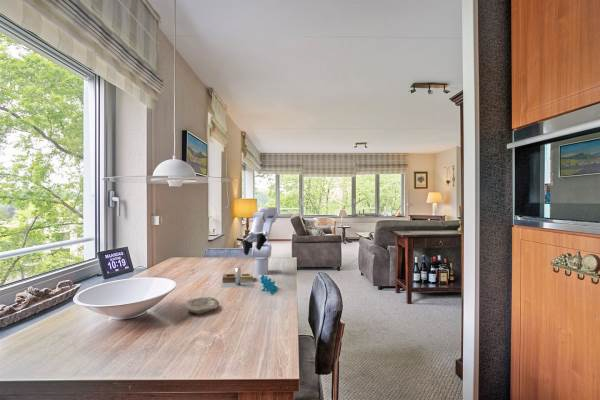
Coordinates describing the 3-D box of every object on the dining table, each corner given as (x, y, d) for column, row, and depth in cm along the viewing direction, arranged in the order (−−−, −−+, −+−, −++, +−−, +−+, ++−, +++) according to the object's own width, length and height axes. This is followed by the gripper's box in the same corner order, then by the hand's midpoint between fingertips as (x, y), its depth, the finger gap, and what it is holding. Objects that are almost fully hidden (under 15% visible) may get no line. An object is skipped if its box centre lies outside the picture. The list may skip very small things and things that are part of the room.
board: (223, 279, 153) (223, 278, 153) (253, 278, 156) (253, 277, 156) (221, 289, 137) (221, 287, 137) (254, 287, 140) (254, 286, 140)
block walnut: (223, 278, 152) (223, 274, 152) (237, 278, 153) (237, 273, 153) (222, 282, 145) (222, 277, 145) (237, 282, 146) (237, 277, 146)
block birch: (238, 278, 153) (238, 273, 153) (252, 277, 154) (252, 273, 154) (238, 282, 146) (238, 277, 146) (252, 281, 147) (252, 276, 147)
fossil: (223, 313, 111) (224, 305, 111) (189, 319, 104) (190, 311, 104) (213, 302, 120) (214, 295, 120) (181, 307, 113) (182, 299, 113)
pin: (235, 284, 143) (235, 267, 143) (240, 284, 143) (240, 267, 143) (235, 285, 140) (235, 268, 140) (240, 285, 141) (240, 268, 141)
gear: (271, 293, 126) (258, 275, 130) (262, 302, 127) (249, 283, 131) (282, 290, 136) (270, 272, 140) (273, 298, 137) (261, 281, 141)
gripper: (240, 230, 152) (234, 251, 142) (263, 220, 147) (258, 242, 137) (249, 238, 156) (244, 259, 146) (271, 229, 150) (267, 250, 140)
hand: (251, 251), depth 142 cm, fingers open, 7 cm apart
